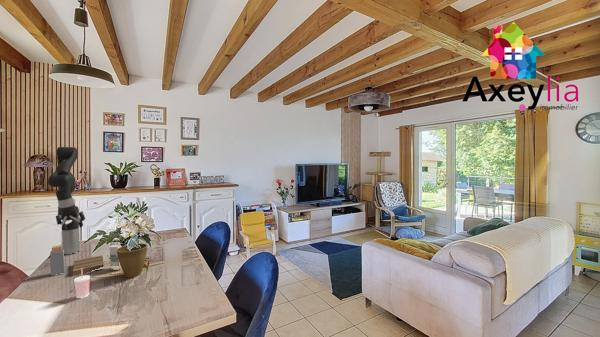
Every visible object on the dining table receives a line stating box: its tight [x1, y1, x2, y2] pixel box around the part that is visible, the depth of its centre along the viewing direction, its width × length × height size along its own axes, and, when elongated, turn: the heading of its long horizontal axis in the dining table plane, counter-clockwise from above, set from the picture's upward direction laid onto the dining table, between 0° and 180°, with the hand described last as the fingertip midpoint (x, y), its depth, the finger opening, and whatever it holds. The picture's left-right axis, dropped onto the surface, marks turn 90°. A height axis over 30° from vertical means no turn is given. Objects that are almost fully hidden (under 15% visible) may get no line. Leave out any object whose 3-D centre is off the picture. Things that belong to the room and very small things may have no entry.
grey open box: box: [49, 248, 66, 276], centre depth 152 cm, size 6×6×13 cm
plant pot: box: [117, 243, 148, 279], centre depth 149 cm, size 15×15×16 cm
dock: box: [72, 254, 105, 276], centre depth 161 cm, size 20×14×3 cm
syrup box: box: [109, 243, 122, 267], centre depth 158 cm, size 6×6×14 cm
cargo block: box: [51, 244, 63, 253], centre depth 151 cm, size 4×4×4 cm
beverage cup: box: [73, 268, 91, 299], centre depth 126 cm, size 6×6×14 cm
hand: (73, 228), depth 172 cm, fingers open, 8 cm apart
